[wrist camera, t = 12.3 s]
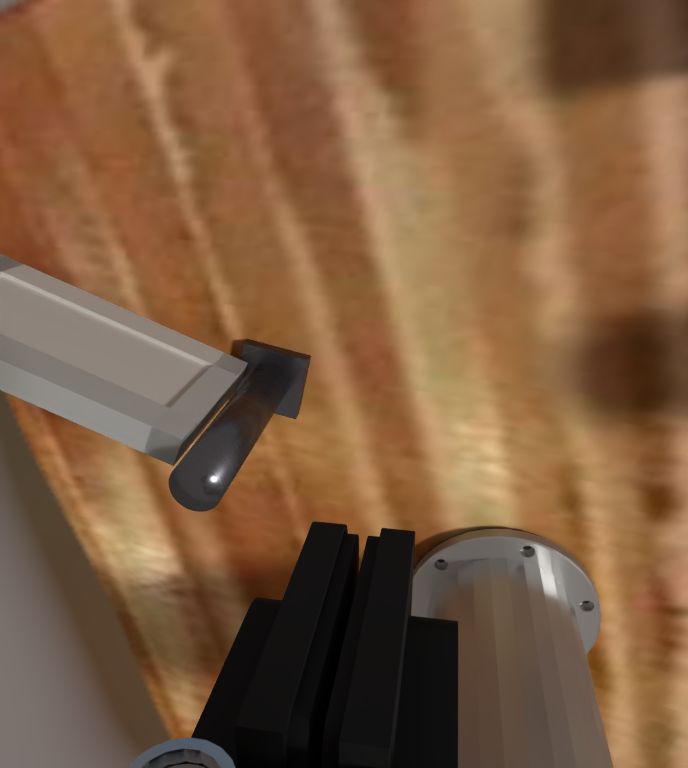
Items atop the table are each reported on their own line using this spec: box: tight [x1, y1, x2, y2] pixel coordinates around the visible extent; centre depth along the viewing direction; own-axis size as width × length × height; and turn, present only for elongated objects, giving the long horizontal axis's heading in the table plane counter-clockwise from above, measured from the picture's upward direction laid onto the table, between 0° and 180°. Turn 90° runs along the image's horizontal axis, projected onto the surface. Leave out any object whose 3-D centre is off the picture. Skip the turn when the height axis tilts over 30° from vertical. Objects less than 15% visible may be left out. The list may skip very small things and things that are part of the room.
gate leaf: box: [0, 254, 248, 466], centre depth 34 cm, size 16×2×10 cm, turn 68°
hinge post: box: [169, 339, 311, 511], centre depth 34 cm, size 4×4×13 cm
